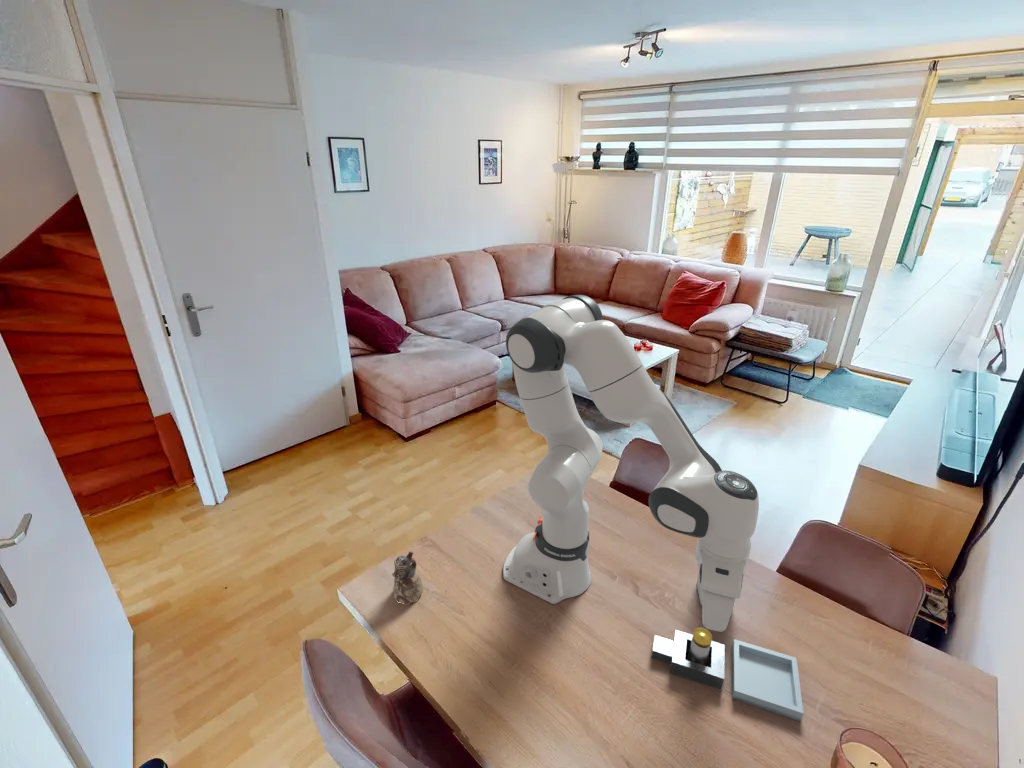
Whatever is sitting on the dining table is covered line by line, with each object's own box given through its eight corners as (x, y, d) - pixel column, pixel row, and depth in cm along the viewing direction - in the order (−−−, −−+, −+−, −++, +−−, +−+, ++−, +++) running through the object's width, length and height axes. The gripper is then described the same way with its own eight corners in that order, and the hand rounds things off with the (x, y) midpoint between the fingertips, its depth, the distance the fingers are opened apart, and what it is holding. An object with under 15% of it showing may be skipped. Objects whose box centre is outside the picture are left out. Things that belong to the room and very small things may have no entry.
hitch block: (650, 666, 104) (651, 655, 102) (654, 634, 111) (656, 623, 109) (721, 690, 99) (724, 678, 98) (721, 655, 106) (724, 644, 104)
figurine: (388, 592, 122) (382, 555, 117) (413, 577, 126) (408, 541, 121) (403, 610, 117) (397, 573, 112) (428, 594, 121) (424, 557, 116)
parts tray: (732, 698, 98) (734, 690, 97) (731, 646, 108) (734, 639, 107) (800, 721, 94) (803, 713, 92) (793, 665, 104) (796, 657, 102)
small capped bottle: (686, 668, 103) (692, 639, 99) (687, 654, 106) (694, 625, 102) (704, 674, 102) (712, 645, 98) (705, 659, 105) (712, 630, 101)
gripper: (705, 513, 100) (696, 564, 106) (700, 589, 83) (690, 645, 89) (739, 521, 98) (728, 572, 104) (741, 600, 81) (728, 656, 87)
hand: (710, 606), depth 96 cm, fingers open, 8 cm apart
